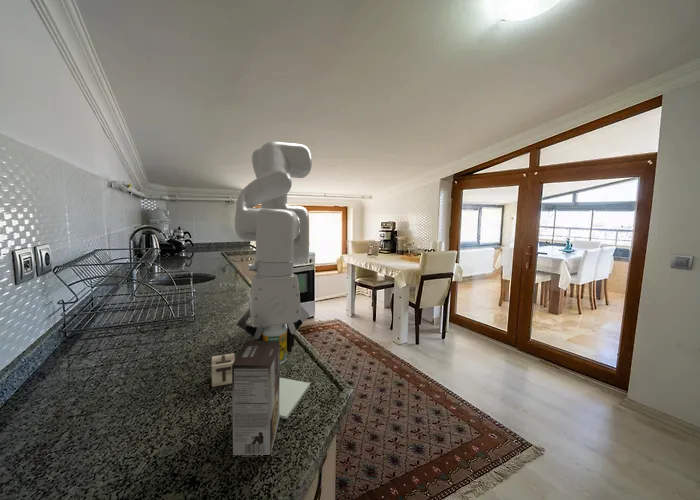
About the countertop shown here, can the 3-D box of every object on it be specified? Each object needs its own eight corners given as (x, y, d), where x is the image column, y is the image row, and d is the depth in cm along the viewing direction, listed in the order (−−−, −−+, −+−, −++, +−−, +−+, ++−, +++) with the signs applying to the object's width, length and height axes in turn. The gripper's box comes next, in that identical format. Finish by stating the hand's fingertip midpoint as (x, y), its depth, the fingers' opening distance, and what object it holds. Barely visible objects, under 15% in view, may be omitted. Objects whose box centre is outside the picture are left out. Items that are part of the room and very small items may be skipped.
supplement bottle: (281, 352, 67) (282, 311, 66) (290, 362, 63) (291, 319, 62) (257, 358, 64) (258, 315, 63) (265, 369, 60) (266, 323, 59)
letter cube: (212, 376, 71) (211, 355, 71) (234, 372, 73) (234, 352, 73) (212, 387, 67) (211, 366, 66) (235, 383, 69) (235, 362, 68)
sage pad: (263, 376, 72) (263, 374, 72) (310, 385, 69) (310, 383, 69) (232, 407, 60) (232, 404, 60) (286, 419, 57) (286, 416, 57)
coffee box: (246, 419, 57) (246, 339, 55) (280, 418, 57) (281, 339, 55) (231, 458, 48) (230, 364, 46) (271, 457, 48) (271, 364, 46)
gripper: (231, 274, 54) (232, 368, 56) (319, 270, 62) (317, 352, 64) (229, 267, 61) (230, 351, 63) (308, 264, 68) (307, 339, 70)
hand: (274, 351), depth 63 cm, fingers closed on supplement bottle, 5 cm apart
